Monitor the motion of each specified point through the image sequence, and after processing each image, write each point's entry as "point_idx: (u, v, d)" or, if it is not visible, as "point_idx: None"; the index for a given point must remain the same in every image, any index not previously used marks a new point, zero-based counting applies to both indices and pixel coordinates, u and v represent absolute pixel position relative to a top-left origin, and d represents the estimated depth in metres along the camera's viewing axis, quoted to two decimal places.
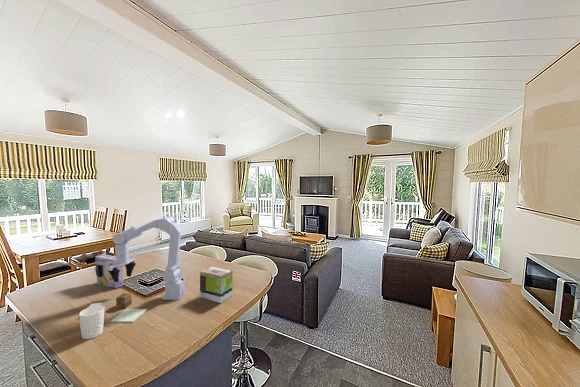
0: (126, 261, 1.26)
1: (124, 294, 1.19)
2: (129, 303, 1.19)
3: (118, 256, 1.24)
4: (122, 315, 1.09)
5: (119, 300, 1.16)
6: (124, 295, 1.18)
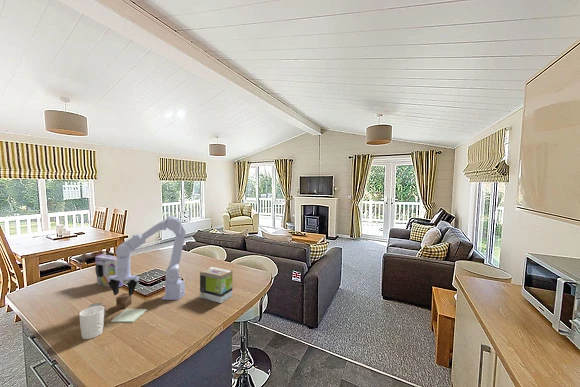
0: (119, 277, 1.15)
1: (124, 294, 1.19)
2: (129, 303, 1.19)
3: None
4: (122, 315, 1.09)
5: (119, 300, 1.16)
6: (124, 295, 1.18)
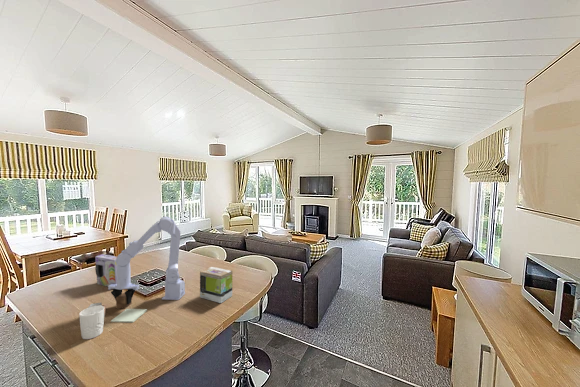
0: (119, 286, 1.15)
1: (124, 294, 1.19)
2: None
3: None
4: (122, 315, 1.09)
5: (119, 299, 1.16)
6: (124, 295, 1.18)
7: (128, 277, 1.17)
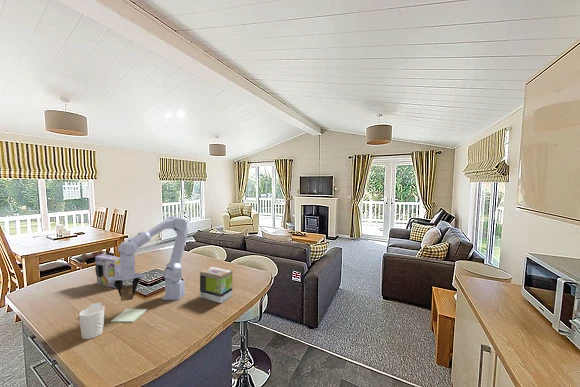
0: (126, 276, 1.09)
1: (127, 286, 1.13)
2: None
3: (120, 268, 1.10)
4: (122, 315, 1.09)
5: (125, 291, 1.10)
6: (128, 286, 1.12)
7: (134, 266, 1.12)
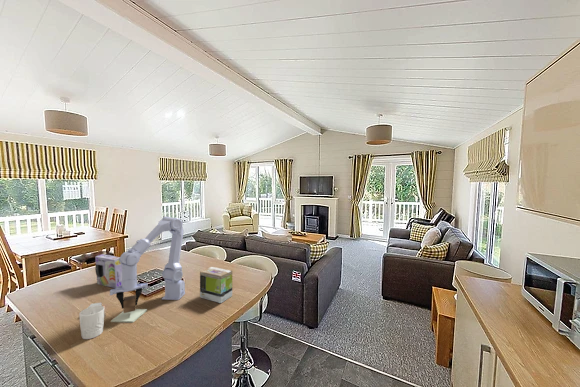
0: (129, 287, 1.07)
1: (128, 297, 1.10)
2: None
3: (122, 279, 1.07)
4: (122, 315, 1.09)
5: (128, 303, 1.07)
6: (130, 298, 1.10)
7: (136, 277, 1.10)
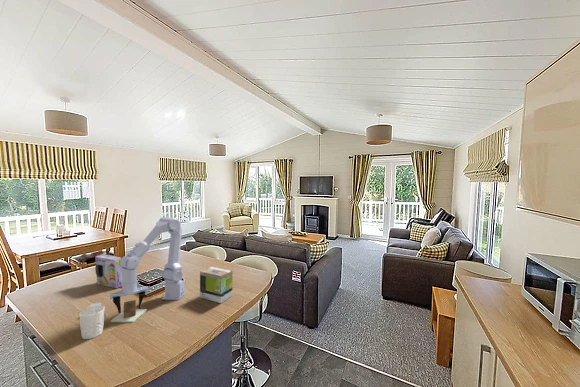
0: (129, 291, 1.07)
1: (128, 302, 1.10)
2: (135, 310, 1.12)
3: (122, 283, 1.07)
4: (122, 315, 1.09)
5: (128, 308, 1.08)
6: (130, 302, 1.10)
7: (136, 280, 1.10)
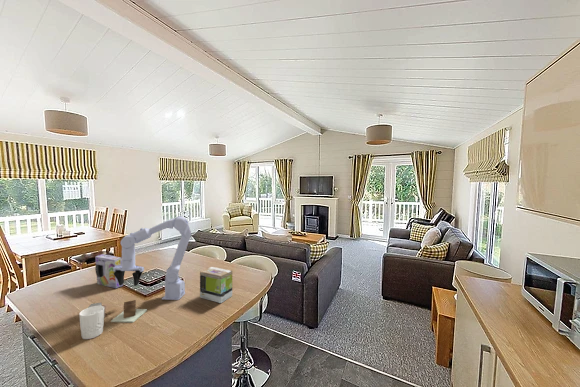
0: (124, 267, 1.17)
1: (128, 302, 1.10)
2: (135, 310, 1.12)
3: None
4: (122, 315, 1.09)
5: (128, 308, 1.08)
6: (130, 302, 1.10)
7: (133, 259, 1.19)
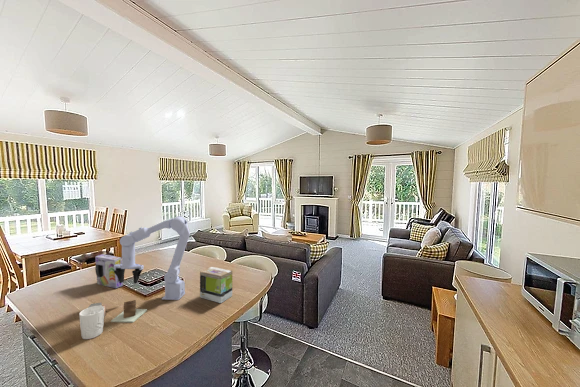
0: (124, 265, 1.20)
1: (128, 302, 1.10)
2: (135, 310, 1.12)
3: None
4: (122, 315, 1.09)
5: (128, 308, 1.08)
6: (130, 302, 1.10)
7: (133, 257, 1.22)
